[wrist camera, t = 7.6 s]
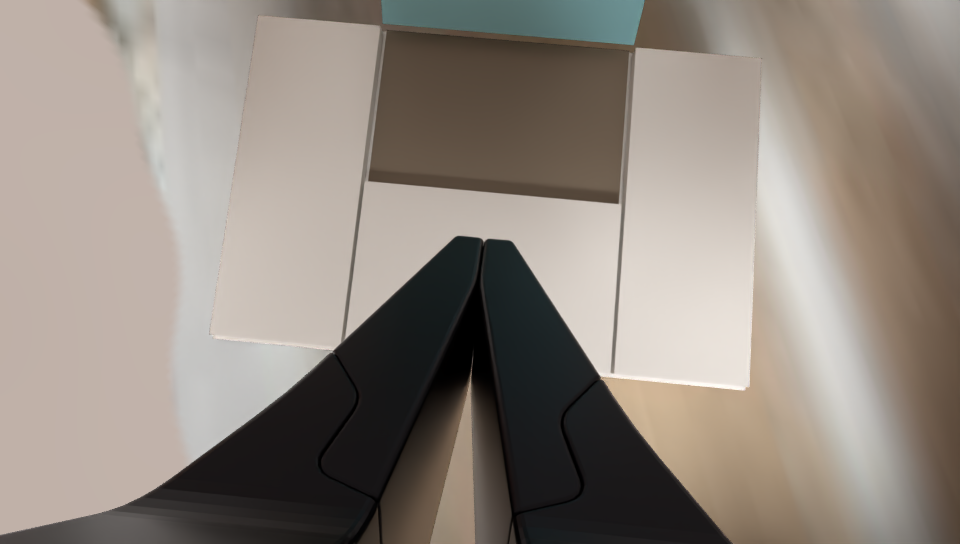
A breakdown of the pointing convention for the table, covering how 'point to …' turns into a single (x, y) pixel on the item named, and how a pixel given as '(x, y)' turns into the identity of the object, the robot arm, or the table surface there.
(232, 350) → the table surface
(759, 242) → the table surface
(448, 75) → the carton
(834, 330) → the table surface
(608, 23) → the flap
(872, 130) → the table surface
